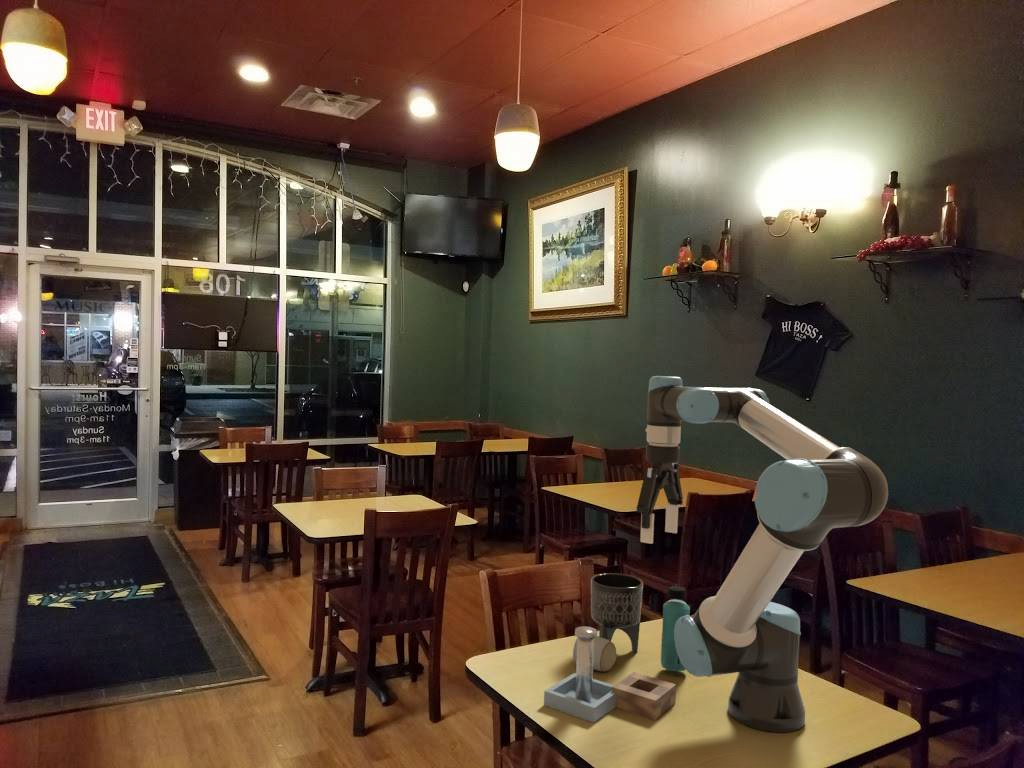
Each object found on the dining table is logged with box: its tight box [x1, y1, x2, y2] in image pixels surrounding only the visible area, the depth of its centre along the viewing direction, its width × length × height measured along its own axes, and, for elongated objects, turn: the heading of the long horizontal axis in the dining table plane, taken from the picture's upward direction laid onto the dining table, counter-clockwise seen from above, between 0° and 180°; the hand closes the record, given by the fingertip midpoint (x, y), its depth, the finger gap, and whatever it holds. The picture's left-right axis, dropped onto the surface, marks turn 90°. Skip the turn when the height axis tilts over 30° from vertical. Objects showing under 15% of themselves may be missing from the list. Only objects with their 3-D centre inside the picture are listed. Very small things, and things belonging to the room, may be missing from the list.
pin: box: [574, 626, 598, 703], centre depth 161 cm, size 5×5×15 cm
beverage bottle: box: [660, 585, 691, 672], centre depth 179 cm, size 6×7×20 cm
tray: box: [543, 672, 616, 723], centre depth 161 cm, size 12×12×3 cm
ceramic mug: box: [572, 635, 617, 673], centre depth 181 cm, size 11×8×8 cm
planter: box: [590, 572, 644, 654], centre depth 191 cm, size 13×13×18 cm
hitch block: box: [612, 671, 677, 721], centre depth 162 cm, size 10×10×4 cm
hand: (659, 537), depth 174 cm, fingers open, 13 cm apart
